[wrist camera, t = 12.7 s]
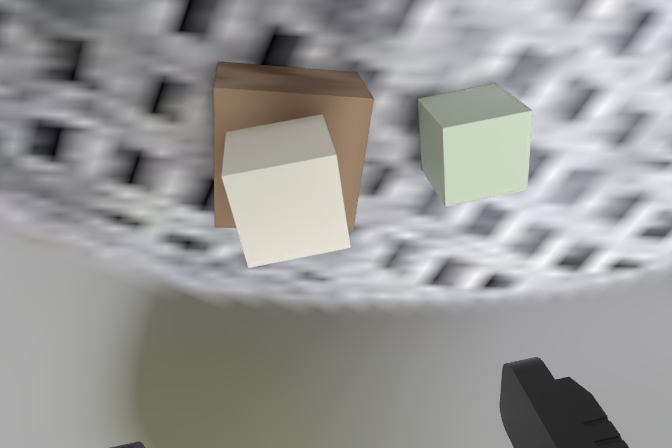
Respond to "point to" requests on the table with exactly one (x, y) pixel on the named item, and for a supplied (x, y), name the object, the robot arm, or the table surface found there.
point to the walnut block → (292, 117)
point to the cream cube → (285, 190)
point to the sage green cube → (475, 143)
